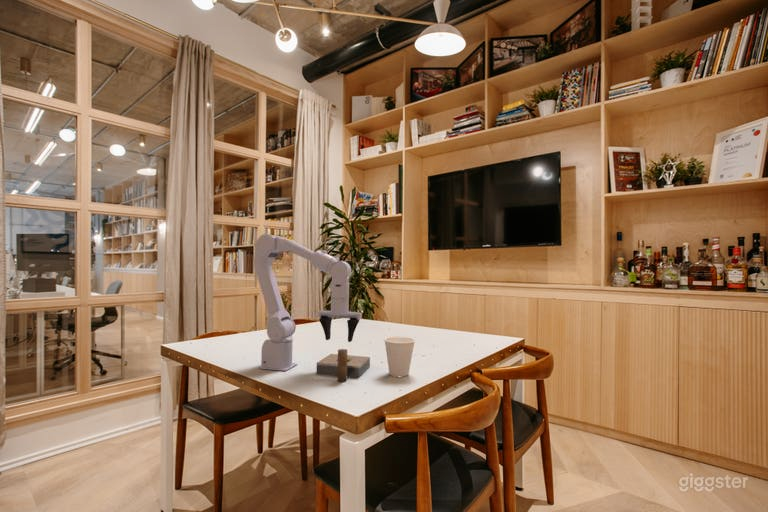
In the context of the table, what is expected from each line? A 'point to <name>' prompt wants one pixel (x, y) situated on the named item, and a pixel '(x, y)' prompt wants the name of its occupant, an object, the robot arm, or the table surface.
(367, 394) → the table surface
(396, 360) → the cup
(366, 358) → the grey block with hole
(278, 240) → the robot arm
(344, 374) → the brown wooden block
